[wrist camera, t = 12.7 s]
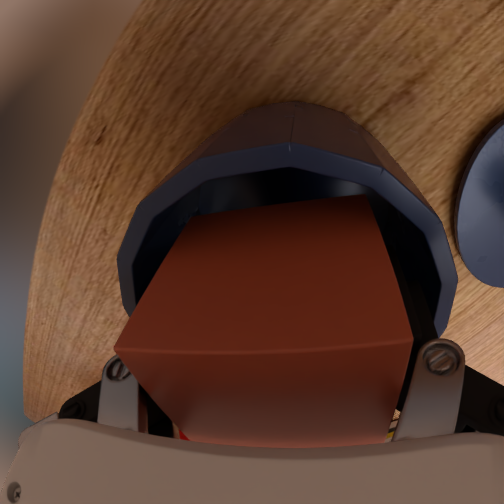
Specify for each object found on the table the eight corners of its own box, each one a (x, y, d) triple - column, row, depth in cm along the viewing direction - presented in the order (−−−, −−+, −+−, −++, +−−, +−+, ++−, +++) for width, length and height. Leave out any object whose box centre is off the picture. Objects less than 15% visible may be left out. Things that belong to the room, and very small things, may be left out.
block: (190, 215, 11) (111, 348, 6) (365, 193, 10) (414, 339, 5) (233, 332, 14) (202, 454, 9) (367, 323, 13) (380, 454, 8)
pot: (167, 127, 15) (66, 194, 8) (388, 90, 13) (473, 128, 6) (222, 293, 21) (187, 404, 14) (394, 277, 18) (424, 395, 11)
